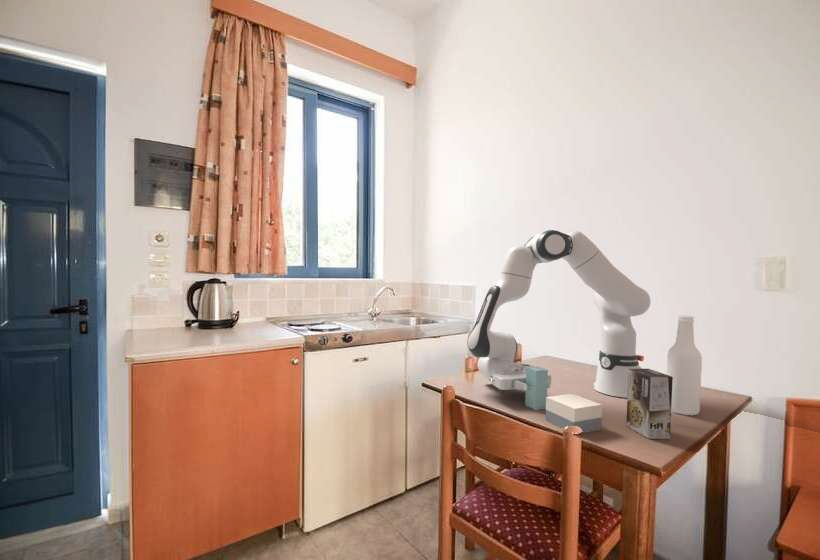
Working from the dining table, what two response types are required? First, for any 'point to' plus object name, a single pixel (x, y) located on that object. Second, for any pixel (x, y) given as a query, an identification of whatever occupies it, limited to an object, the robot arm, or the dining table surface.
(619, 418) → the dining table surface
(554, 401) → the slab top
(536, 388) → the teal post
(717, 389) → the dining table surface
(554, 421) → the slab bottom
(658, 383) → the coffee box
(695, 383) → the alcohol
